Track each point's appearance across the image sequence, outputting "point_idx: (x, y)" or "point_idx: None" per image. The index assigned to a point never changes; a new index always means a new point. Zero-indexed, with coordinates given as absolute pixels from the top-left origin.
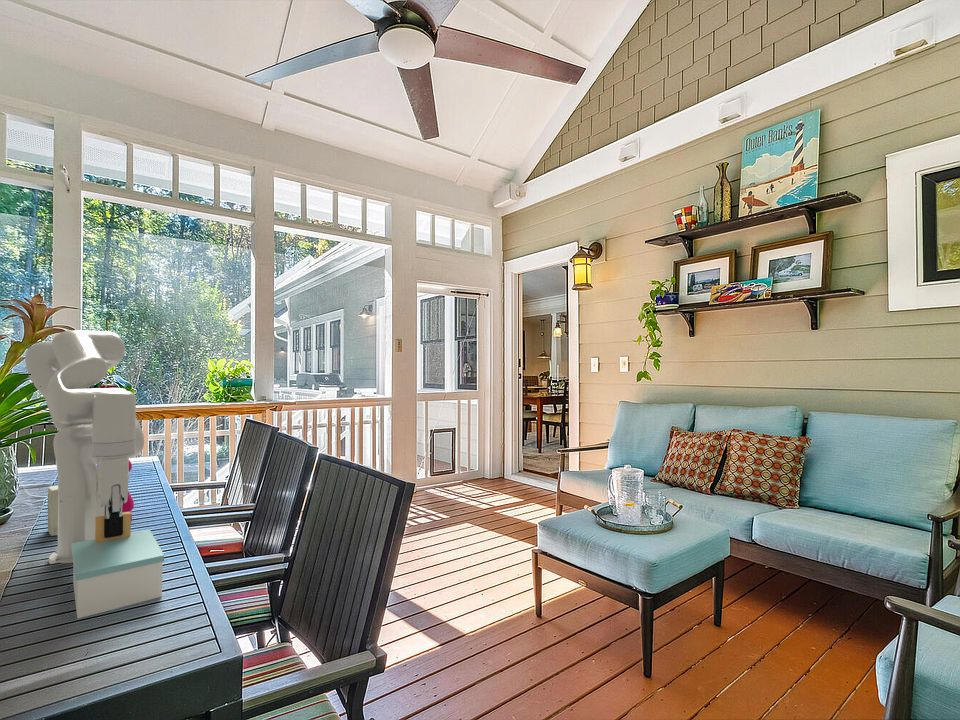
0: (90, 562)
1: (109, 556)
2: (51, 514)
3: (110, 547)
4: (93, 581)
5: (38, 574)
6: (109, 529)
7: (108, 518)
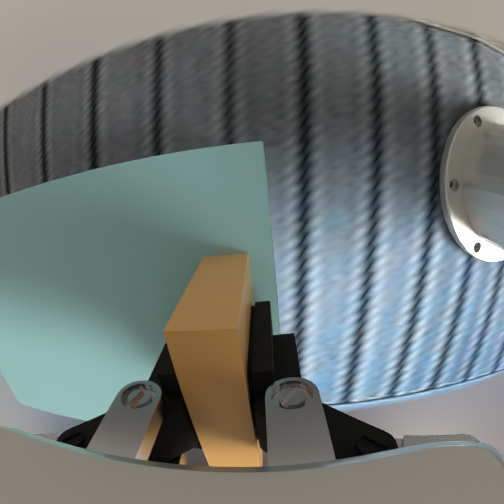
0: None
1: (20, 302)
2: None
3: (102, 312)
4: None
5: (426, 75)
6: (163, 351)
7: (126, 396)
